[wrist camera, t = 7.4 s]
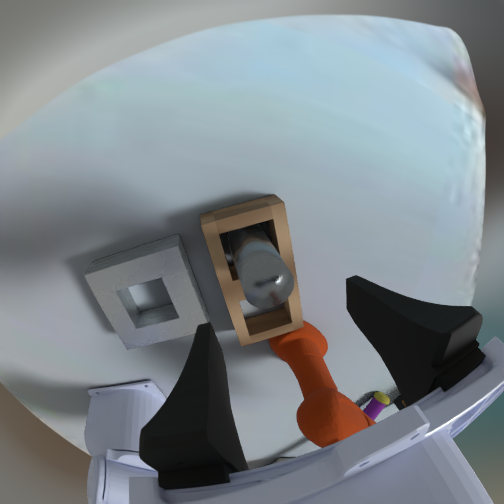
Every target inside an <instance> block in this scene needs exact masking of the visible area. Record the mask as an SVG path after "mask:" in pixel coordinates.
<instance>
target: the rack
mask: <svg viewBox="0 0 504 504" xmlns="http://www.w3.org/2000/svg"><path fill="white" fill-rule="evenodd" d="M200 220H201V227H202V230H203V233H204V237H205V240H206V243H207V246H208V249H209V253H210V256H211V259H212V262H213V265H214V268H215V271H216V274H217V277H218V281H219V284H220V287H221V290H222V293H223V296H224V299H225V302H226V304H227V307H228V310H229V313H230V316H231V319H232V322H233V325H234V328H235V330H236V333H237V336H238V339H239V342H240V345H241V347H242V346H245V345H249V344H252V343H255V342H259V341H262V340H265V339H269V338H272V337H275V336H278V335H281V334H284V333H287V332H290V331H293V330H296V329H299V328H302V327H304V325H303V317H302V310H301V303H300V296H299V289H298V282H297V276H296V269H295V263H294V256H293V250H292V244H291V238H290V232H289V226H288V220H287V215H286V209H285V203H284V202H283V201H282V200H281V199H280V198H279V197H277V196H276V195H275V194H274V195H271V196H267V197H263V198H259V199H255V200H251V201H248V202H244V203H240V204H237V205H233V206H229V207H226V208H222V209H219V210H215V211H212V212H208V213H205V214H201V215H200ZM264 221H268V226H269V231H270V236H271V241H272V244H273V246H274V247H275V249H276V250H277V252H278V253H279V255H280V256H281V258H282V259H283V261H284V262H285V264H286V265H287V267H288V268H289V270H290V271H291V273H292V275H293V277H294V288H293V291H292V293H291V295H290V296H289V297H288V299H287V300H286V301H284V308H281V309H278V310H275V311H271V312H268V313H265V314H262V315H258V316H255V317H252V318H248V319H245V320H244V316H243V313H242V310H241V307H240V303H239V301H243V300H246V298H245V295H244V292H243V289H242V286H241V283H240V280H239V277H238V274H237V270H236V267H235V265H233V266H229V267H228V263H227V260H226V257H225V253H224V250H223V246H222V243H221V239H220V236H219V234H221V233H225V232H228V231H232V230H235V229H239V228H242V227H246V226H249V225H253V224H256V223H260V222H264Z"/></svg>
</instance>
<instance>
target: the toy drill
mask: <svg viewBox="0 0 504 504" xmlns="http://www.w3.org/2000/svg"><path fill="white" fill-rule="evenodd" d="M303 325H304V327H302V328H299V329H296V330H293V331H290V332H287V333H284V334H281V335H278V336H275V337H272V338H269V344H270V347H271V349H272V350H273V351H274V352H275V353H276V354H277V355H278V356H279V357H280V358H281V359H282V360H283V361H285V362H287V363H288V365H289V366H290V368H291V369H292V371H293V372H294V374H295V376H296V378H297V380H298V382H299V385H300V388H301V391H302V394H303V397H304V401H303V402H302V403H301V405H300V406H299V408H298V410H297V423H298V426H299V428H300V430H301V432H302V433H303V434H304V436H305V437H307V438H308V439H309V440H310V441H312V442H313V443H314V444H316V445H317V446H319V447H321V448H324V447H326V446H329V445H331V444H334V443H336V442H339V441H341V440H344V439H345V438H347V437H349V436H351V435H353V434H355V433H357V432H359V431H361V430H363V429H366V428H368V427H370V426H372V425H374V424H376V422H375V421H374V420H372V419H371V418H370V417H369V416H368V415H366V414H365V413H364V412H363V411H362V410H361V409H360V408H359V407H358V406H357V405H356V404H355V403H354V402H352V401H351V400H350V399H349V398H347V397H346V396H345V395H343V394H342V393H340V392H338V390H337V387H336V385H335V383H334V381H333V379H332V377H331V375H330V373H329V370H328V368H327V366H326V364H325V362H324V359H323V356H324V355H325V354H326V352H327V349H328V345H327V341H326V339H325V337H324V336H323V335H322V334H321V332H320V331H319V330H318V329H316V328H315V327H314V326H312V325H311V324H309V323H308V322H306V321H303Z"/></svg>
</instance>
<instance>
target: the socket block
mask: <svg viewBox="0 0 504 504" xmlns="http://www.w3.org/2000/svg"><path fill="white" fill-rule="evenodd" d="M84 277H85V279H86V280H87V282H88V284H89V286H90V288H91V290H92V292H93V294H94V296H95V297H96V299H97V301H98V303H99V305H100V306H101V308H102V310H103V311H104V313H105V315H106V317H107V318H108V320H109V322H110V323H111V325H112V327H113V328H114V330H115V331H116V333H117V335H118V336H119V338H120V339H121V341H122V342H123V344H124V345H125V347H126V348H127V350H128V349H132V348H137V347H141V346H146V345H150V344H155V343H159V342H163V341H167V340H171V339H175V338H179V337H183V336H187V335H191V334H195V333H196V329H197V326H198V325H200V324H204V323H207V322H209V316H208V311H207V309H206V306H205V304H204V301H203V298H202V296H201V293H200V291H199V288H198V285H197V283H196V280H195V277H194V275H193V272H192V269H191V266H190V264H189V261H188V258H187V255H186V252H185V250H184V247H183V244H182V241H181V238H180V235H179V234H177V235H174V236H171V237H167V238H164V239H161V240H158V241H154V242H151V243H148V244H145V245H142V246H139V247H135V248H132V249H129V250H126V251H123V252H120V253H117V254H114V255H111V256H108V257H105V258H102V259H99V260H96V261H93V262H92V264H91V265H90V267H89V268H88V270H87V272H86V273H85V275H84ZM161 277H162V280H163V282H164V284H165V287H166V289H167V291H168V293H169V296H170V298H171V300H172V302H173V303H172V304H169V305H165V306H161V307H157V308H154V309H150V310H146V311H142V312H140V311H139V310H138V308H137V306H136V304H135V302H134V300H133V298H132V296H131V294H130V292H129V290H128V288H127V287H130V286H134V285H137V284H141V283H144V282H148V281H151V280H154V279H158V278H161Z"/></svg>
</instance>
